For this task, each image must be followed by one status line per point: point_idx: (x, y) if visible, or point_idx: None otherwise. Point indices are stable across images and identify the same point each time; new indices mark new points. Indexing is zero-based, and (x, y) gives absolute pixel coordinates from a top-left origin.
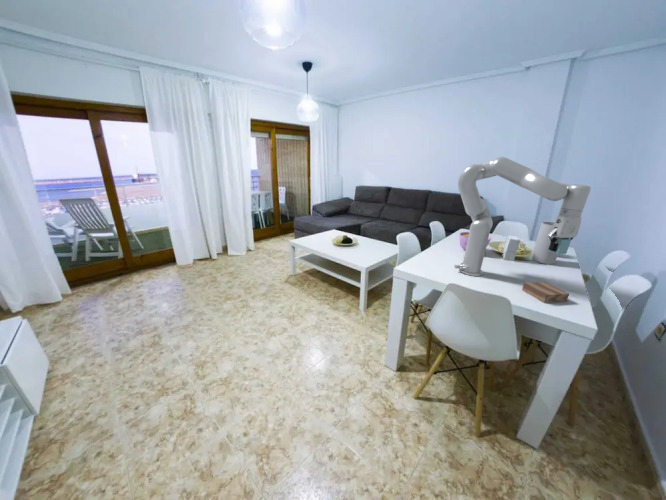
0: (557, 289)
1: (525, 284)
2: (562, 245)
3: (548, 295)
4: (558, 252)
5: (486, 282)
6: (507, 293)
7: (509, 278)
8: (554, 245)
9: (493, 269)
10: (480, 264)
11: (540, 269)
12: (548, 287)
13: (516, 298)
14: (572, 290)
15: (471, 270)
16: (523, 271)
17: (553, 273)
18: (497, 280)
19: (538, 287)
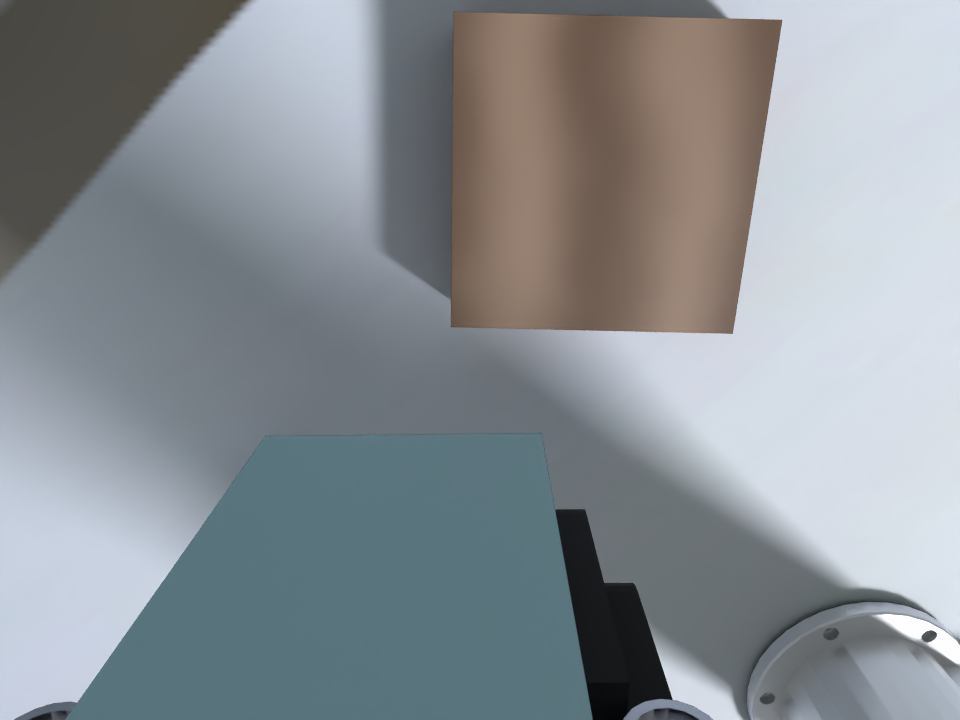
0: (491, 137)
1: (733, 309)
2: (475, 583)
3: (749, 19)
4: (529, 451)
5: (907, 486)
6: (925, 263)
7: None
8: (638, 662)
9: None
10: (908, 717)
11: (80, 663)
12: (553, 196)
13: (940, 157)
14: (149, 239)
15: (942, 668)
16: None
17: (16, 580)
18: (754, 510)
19: (676, 212)
